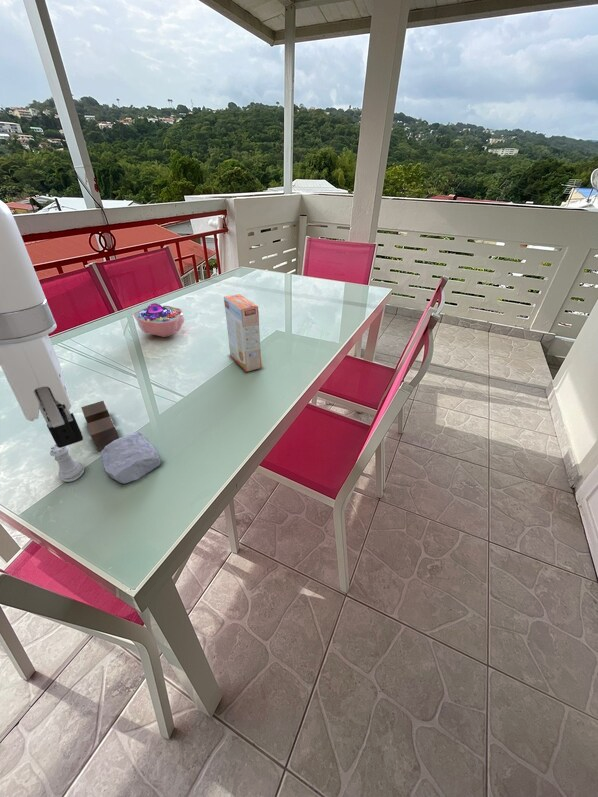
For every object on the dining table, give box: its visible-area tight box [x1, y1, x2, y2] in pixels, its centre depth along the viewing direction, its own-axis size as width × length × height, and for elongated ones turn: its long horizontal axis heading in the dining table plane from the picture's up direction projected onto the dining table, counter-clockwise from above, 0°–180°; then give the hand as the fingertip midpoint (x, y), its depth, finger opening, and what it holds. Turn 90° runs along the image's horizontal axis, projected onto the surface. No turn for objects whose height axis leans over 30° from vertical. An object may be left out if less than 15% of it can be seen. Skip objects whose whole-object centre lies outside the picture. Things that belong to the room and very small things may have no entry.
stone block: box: [100, 430, 162, 484], centre depth 72 cm, size 12×5×10 cm
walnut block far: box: [81, 400, 111, 425], centre depth 82 cm, size 5×5×5 cm
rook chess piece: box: [49, 443, 85, 483], centre depth 67 cm, size 4×4×8 cm
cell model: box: [133, 302, 185, 338], centre depth 126 cm, size 17×20×11 cm
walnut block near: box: [86, 415, 120, 452], centre depth 77 cm, size 5×5×5 cm
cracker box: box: [223, 293, 262, 373], centre depth 105 cm, size 14×6×21 cm, turn 31°
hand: (70, 441), depth 48 cm, fingers closed
